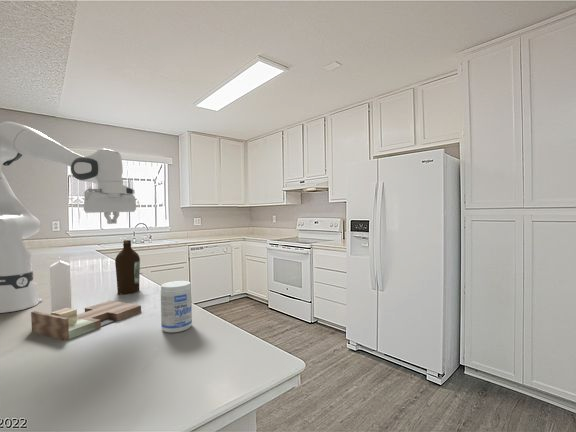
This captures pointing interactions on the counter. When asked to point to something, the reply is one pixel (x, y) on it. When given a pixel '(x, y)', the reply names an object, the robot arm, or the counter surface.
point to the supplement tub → (176, 306)
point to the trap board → (82, 319)
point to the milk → (60, 285)
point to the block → (67, 314)
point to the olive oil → (127, 269)
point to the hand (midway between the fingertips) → (112, 223)
